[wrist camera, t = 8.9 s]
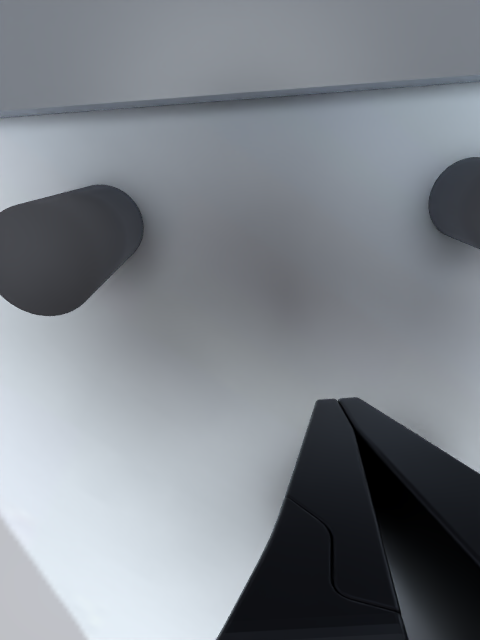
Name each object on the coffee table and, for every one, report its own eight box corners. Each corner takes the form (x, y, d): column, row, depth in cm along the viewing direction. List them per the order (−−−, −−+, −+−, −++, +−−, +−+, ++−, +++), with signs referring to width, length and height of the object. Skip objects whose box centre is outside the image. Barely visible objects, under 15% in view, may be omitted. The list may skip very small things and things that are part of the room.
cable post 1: (148, 260, 18) (107, 311, 12) (74, 265, 18) (-2, 319, 12) (136, 181, 17) (86, 199, 11) (57, 187, 17) (-34, 207, 11)
